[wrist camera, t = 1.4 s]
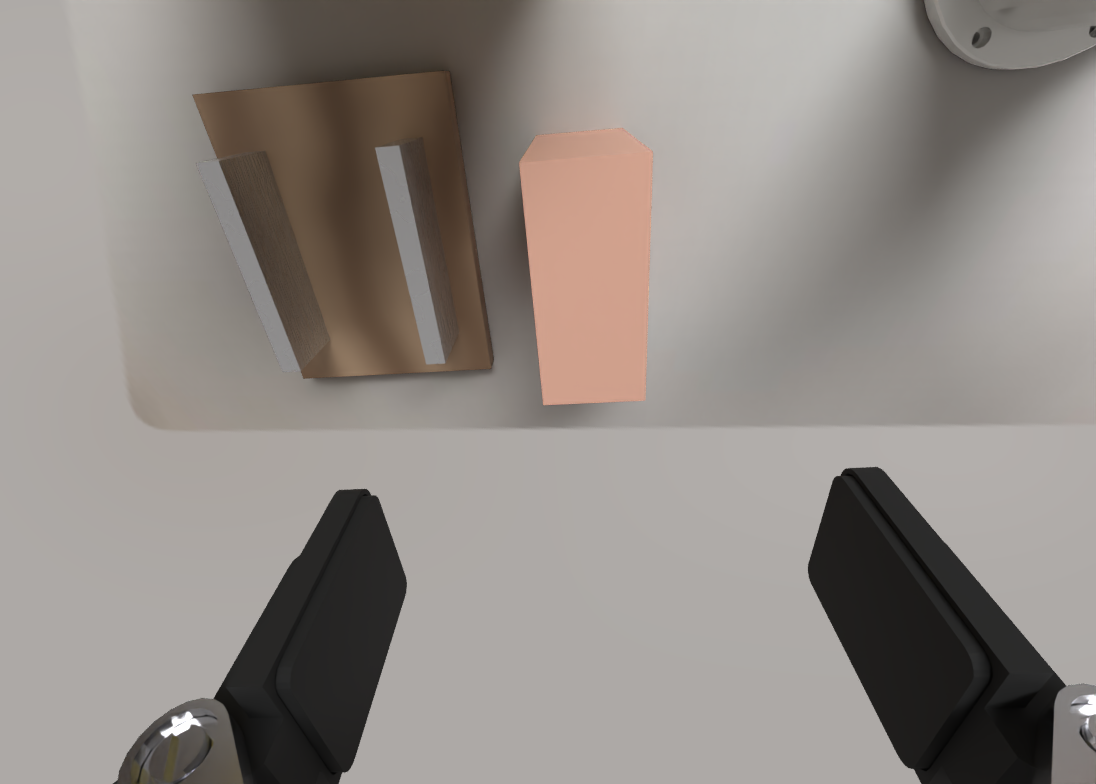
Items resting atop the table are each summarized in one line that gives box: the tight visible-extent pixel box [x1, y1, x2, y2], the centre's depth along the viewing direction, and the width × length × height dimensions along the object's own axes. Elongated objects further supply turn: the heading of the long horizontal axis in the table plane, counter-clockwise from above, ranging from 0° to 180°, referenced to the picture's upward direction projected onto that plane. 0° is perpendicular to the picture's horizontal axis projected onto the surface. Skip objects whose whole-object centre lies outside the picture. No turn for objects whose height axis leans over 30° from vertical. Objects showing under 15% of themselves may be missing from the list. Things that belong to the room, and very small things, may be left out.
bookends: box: [196, 137, 459, 372], centre depth 29 cm, size 10×12×4 cm
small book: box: [519, 128, 653, 405], centre depth 26 cm, size 5×11×12 cm, turn 5°
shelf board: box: [193, 71, 494, 379], centre depth 32 cm, size 14×18×2 cm
